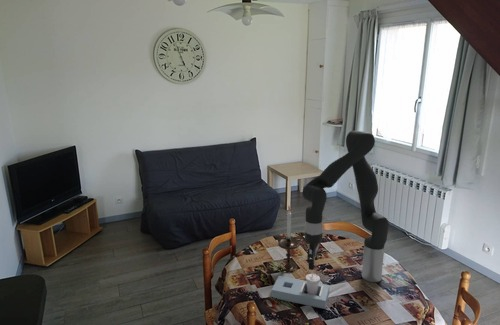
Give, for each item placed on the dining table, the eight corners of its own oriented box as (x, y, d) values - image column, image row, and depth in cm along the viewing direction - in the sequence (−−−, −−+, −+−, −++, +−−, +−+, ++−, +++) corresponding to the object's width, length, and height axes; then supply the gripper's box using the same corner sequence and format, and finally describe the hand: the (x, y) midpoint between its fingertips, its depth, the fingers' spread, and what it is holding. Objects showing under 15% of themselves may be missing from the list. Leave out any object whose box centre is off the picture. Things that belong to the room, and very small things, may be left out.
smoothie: (317, 292, 159) (318, 264, 155) (320, 300, 152) (322, 272, 149) (303, 292, 158) (304, 265, 155) (306, 301, 152) (307, 272, 149)
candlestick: (292, 275, 172) (293, 210, 164) (273, 269, 178) (274, 205, 170) (302, 266, 180) (304, 203, 172) (284, 260, 187) (285, 199, 178)
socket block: (278, 283, 166) (278, 275, 165) (329, 293, 158) (329, 284, 157) (271, 297, 155) (271, 289, 154) (325, 309, 147) (325, 300, 146)
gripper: (308, 222, 155) (307, 255, 158) (301, 236, 142) (301, 271, 145) (324, 224, 152) (324, 257, 156) (319, 238, 139) (319, 274, 143)
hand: (313, 264), depth 151 cm, fingers open, 8 cm apart
